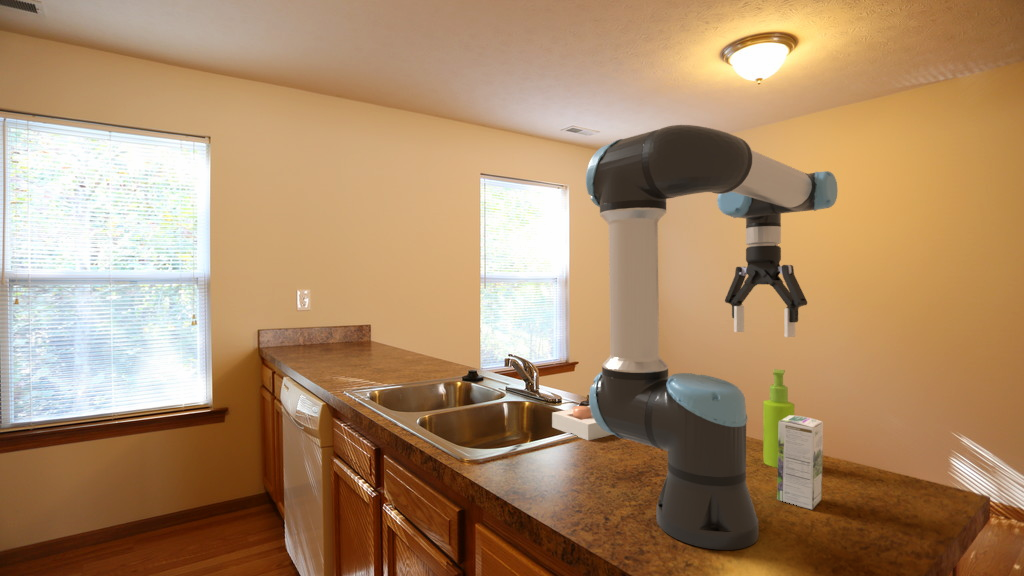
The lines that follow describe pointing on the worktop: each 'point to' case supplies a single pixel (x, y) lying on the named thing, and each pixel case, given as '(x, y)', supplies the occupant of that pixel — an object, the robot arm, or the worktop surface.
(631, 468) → the worktop surface
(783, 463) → the syrup box
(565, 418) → the button panel
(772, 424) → the soap dispenser
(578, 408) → the terracotta button
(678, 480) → the robot arm
